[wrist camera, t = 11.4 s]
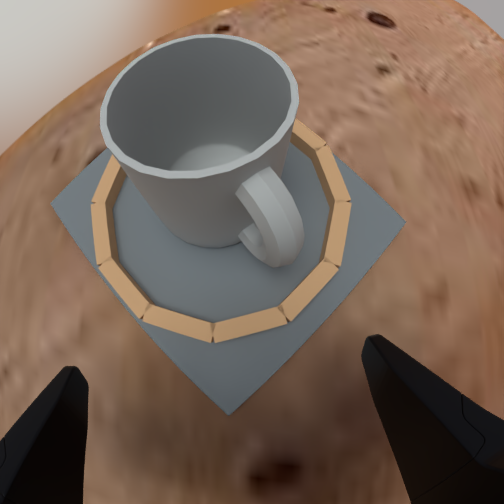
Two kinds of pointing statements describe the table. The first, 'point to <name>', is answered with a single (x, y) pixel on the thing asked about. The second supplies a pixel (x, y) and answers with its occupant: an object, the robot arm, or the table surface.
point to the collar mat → (231, 268)
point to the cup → (210, 142)
